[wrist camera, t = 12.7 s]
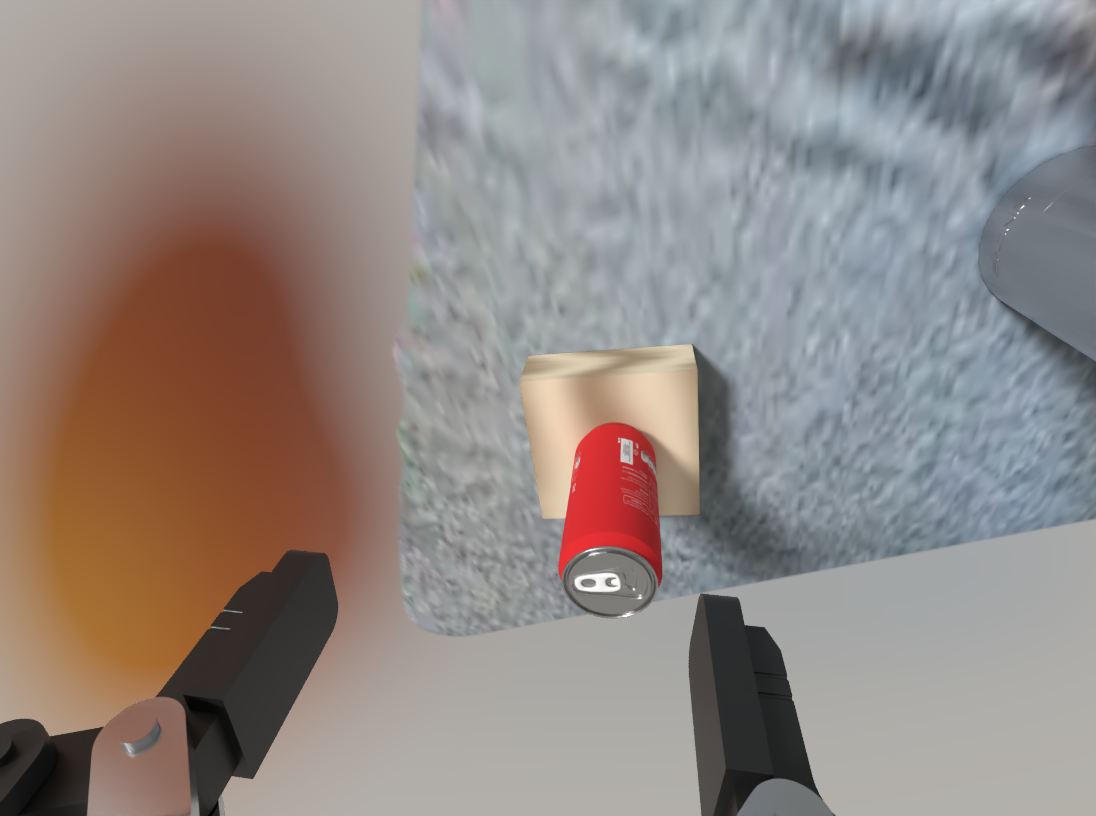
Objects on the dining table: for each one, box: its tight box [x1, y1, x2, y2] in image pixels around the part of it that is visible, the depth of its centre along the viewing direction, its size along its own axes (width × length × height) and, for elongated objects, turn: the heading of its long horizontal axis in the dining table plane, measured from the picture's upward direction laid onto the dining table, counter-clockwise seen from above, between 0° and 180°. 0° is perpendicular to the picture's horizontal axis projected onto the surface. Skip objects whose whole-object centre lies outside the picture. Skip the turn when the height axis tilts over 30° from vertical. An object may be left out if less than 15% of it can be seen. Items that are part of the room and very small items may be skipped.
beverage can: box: [559, 422, 662, 618], centre depth 35 cm, size 5×5×12 cm
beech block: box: [519, 344, 700, 519], centre depth 42 cm, size 11×11×4 cm
